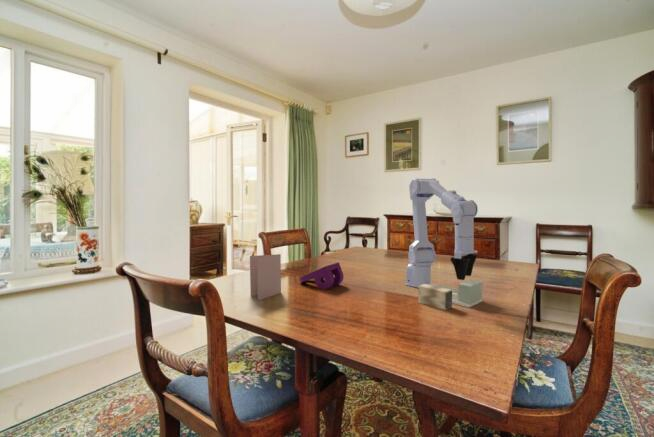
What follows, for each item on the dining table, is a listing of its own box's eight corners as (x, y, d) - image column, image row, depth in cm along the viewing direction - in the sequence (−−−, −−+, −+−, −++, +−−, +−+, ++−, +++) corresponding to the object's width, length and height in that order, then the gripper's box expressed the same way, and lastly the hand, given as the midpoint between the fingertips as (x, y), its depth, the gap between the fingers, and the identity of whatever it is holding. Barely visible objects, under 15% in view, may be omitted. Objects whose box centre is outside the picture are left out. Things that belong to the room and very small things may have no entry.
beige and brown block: (418, 302, 110) (418, 285, 110) (424, 300, 113) (424, 283, 112) (446, 310, 102) (446, 292, 102) (452, 307, 105) (452, 290, 105)
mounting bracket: (301, 298, 134) (333, 286, 124) (295, 279, 136) (325, 266, 126) (315, 293, 142) (346, 281, 132) (308, 275, 143) (338, 262, 133)
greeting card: (280, 292, 123) (280, 253, 122) (284, 297, 116) (283, 257, 115) (250, 295, 120) (249, 255, 119) (252, 301, 112) (251, 259, 112)
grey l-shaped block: (423, 295, 118) (424, 277, 117) (438, 290, 124) (438, 273, 124) (469, 307, 105) (469, 286, 104) (482, 301, 111) (482, 281, 111)
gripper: (470, 239, 97) (471, 283, 98) (482, 235, 109) (482, 275, 109) (447, 238, 102) (447, 280, 102) (461, 235, 113) (461, 272, 113)
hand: (464, 277), depth 106 cm, fingers open, 7 cm apart
